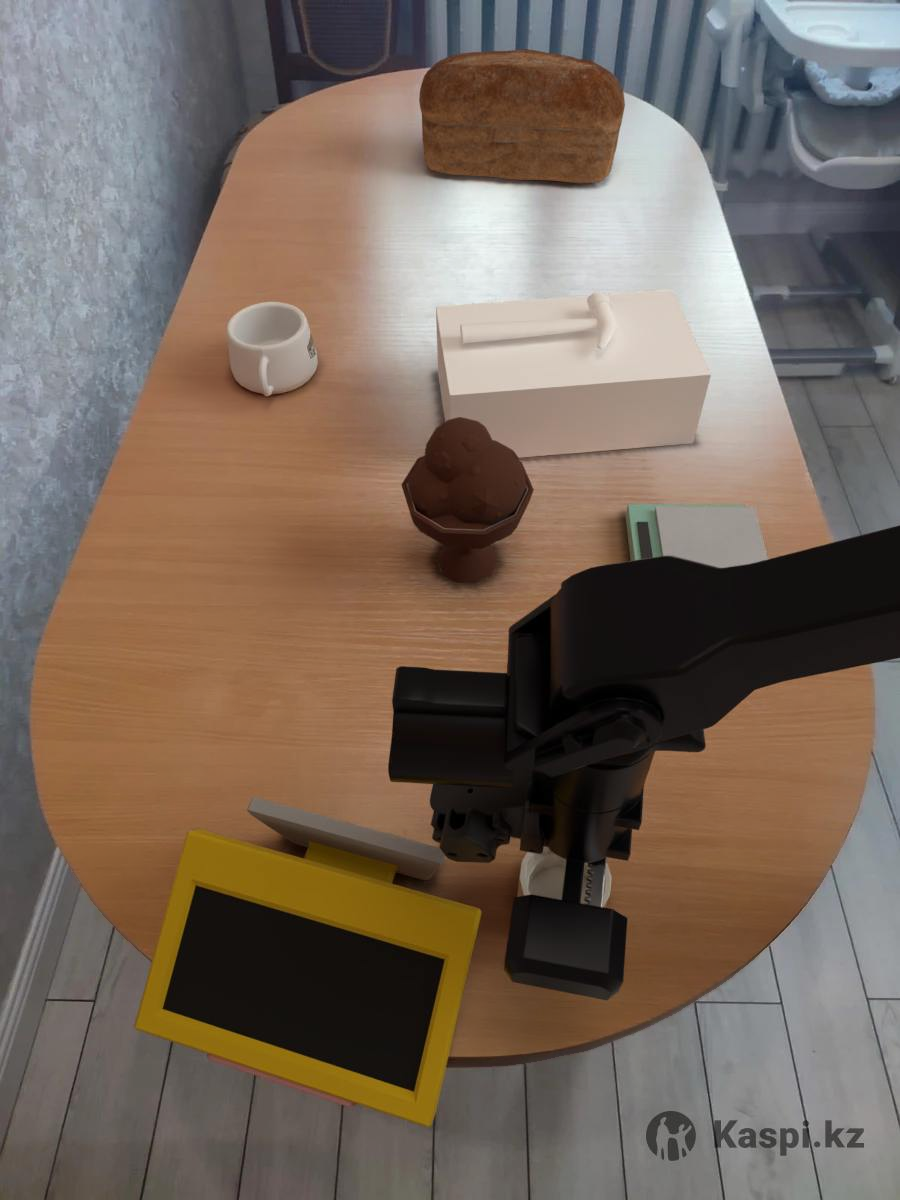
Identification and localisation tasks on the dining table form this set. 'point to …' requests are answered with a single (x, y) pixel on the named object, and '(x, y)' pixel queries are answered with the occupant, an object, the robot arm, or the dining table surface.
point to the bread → (521, 116)
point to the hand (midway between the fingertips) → (567, 874)
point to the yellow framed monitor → (314, 962)
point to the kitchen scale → (695, 533)
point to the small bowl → (551, 876)
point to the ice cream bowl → (466, 496)
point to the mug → (271, 348)
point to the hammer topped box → (573, 371)
